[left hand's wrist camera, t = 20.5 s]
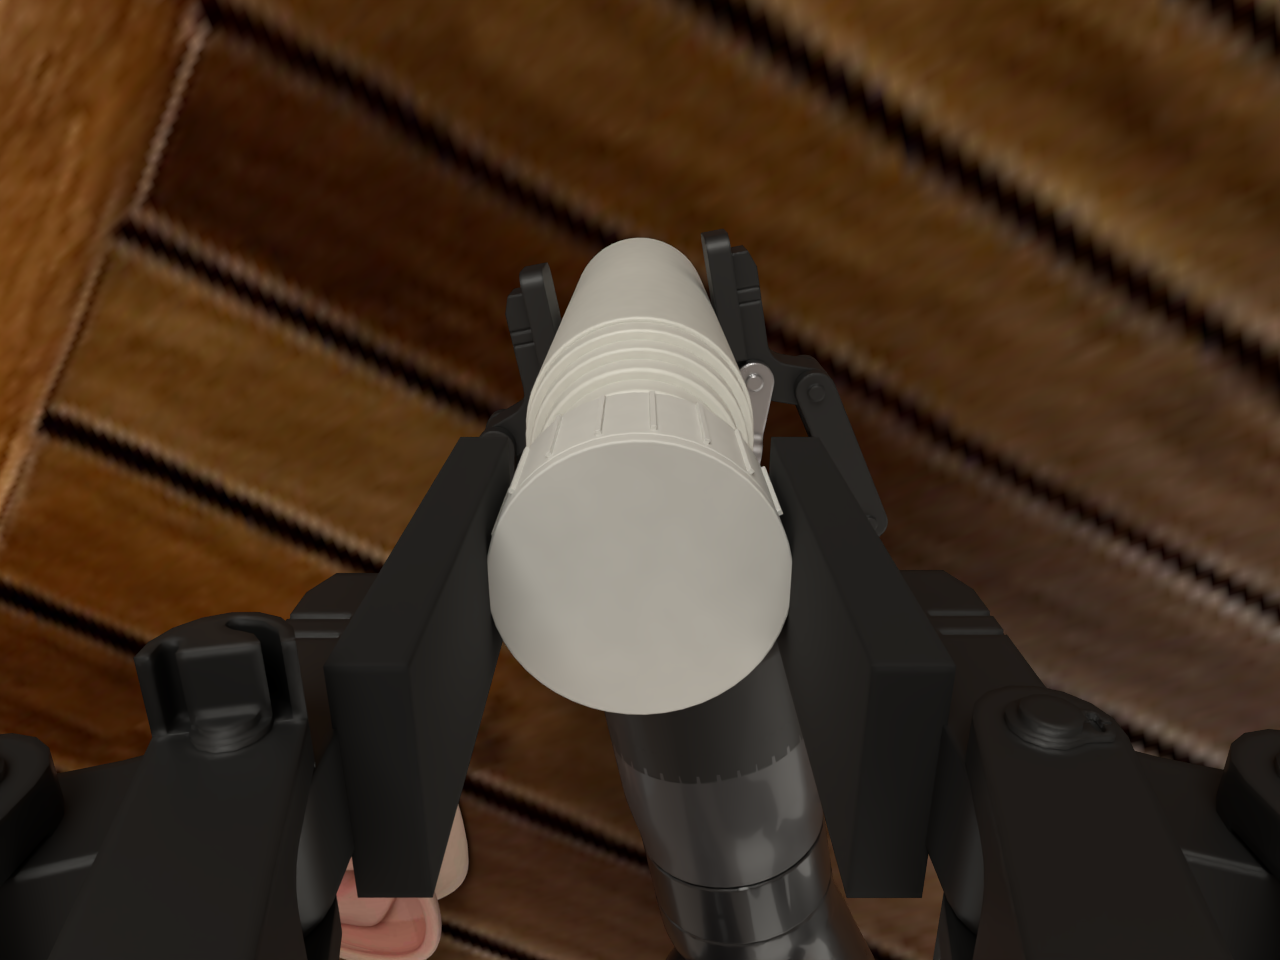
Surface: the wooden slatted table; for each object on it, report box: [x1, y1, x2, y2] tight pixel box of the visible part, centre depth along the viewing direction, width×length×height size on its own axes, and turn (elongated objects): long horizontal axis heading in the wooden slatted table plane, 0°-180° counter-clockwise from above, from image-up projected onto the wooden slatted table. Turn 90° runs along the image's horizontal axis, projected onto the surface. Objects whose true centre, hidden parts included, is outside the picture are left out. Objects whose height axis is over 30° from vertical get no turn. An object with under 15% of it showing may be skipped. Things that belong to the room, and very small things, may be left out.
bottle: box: [526, 238, 754, 451], centre depth 23 cm, size 5×5×22 cm
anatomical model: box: [337, 805, 469, 960], centre depth 39 cm, size 13×4×12 cm
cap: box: [487, 391, 792, 715], centre depth 13 cm, size 4×4×2 cm
